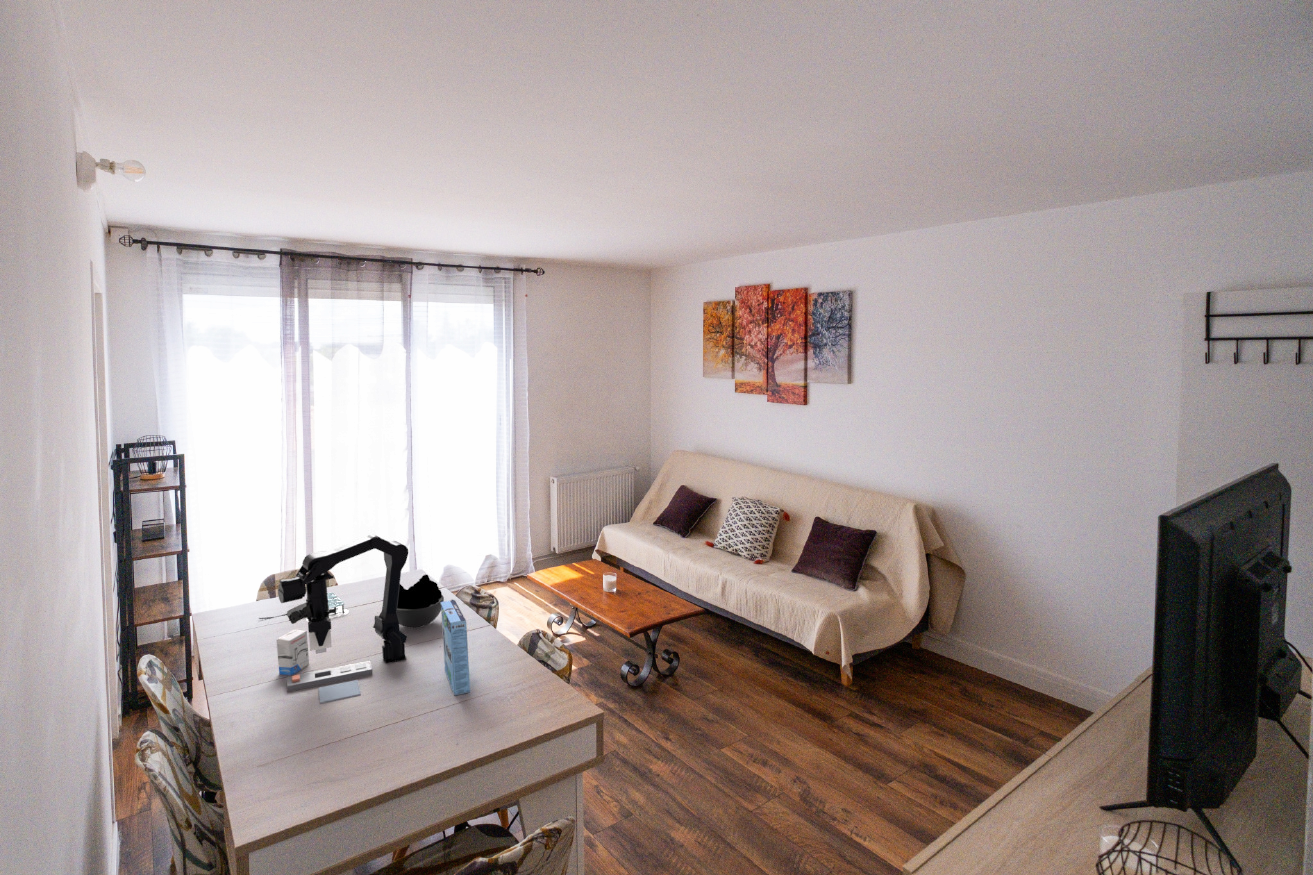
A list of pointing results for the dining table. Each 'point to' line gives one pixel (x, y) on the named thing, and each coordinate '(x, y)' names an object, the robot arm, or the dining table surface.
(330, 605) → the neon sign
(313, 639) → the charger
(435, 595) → the coal bowl
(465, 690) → the light blue carton
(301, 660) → the ink box
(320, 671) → the power strip
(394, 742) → the dining table surface
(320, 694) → the mat
